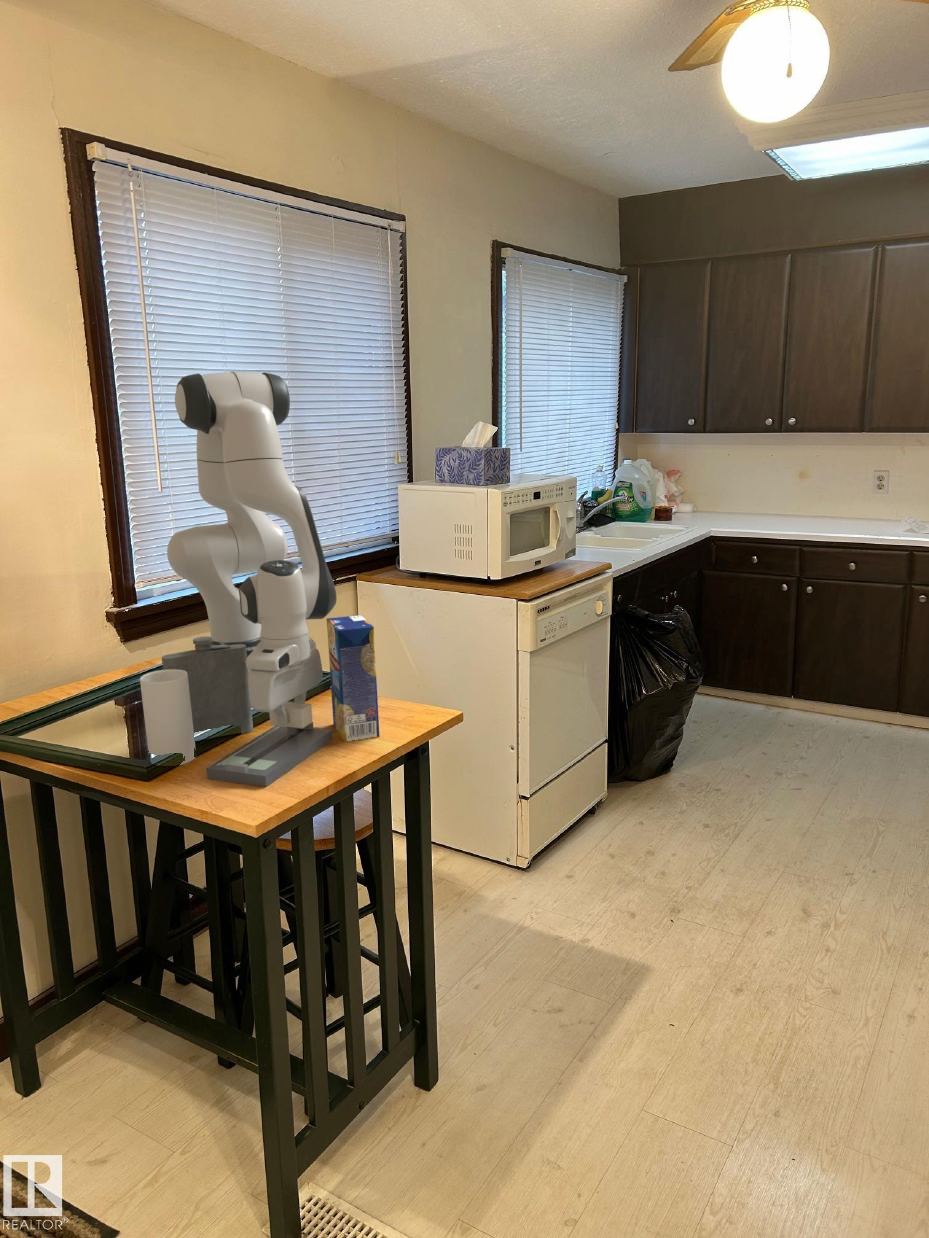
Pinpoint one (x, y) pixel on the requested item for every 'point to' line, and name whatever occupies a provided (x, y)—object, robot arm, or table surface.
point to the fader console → (269, 755)
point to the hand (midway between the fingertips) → (291, 719)
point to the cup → (168, 713)
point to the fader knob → (294, 716)
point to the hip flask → (215, 684)
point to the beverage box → (353, 677)
